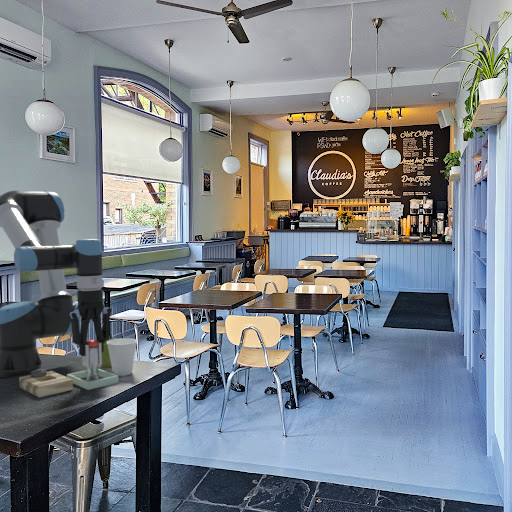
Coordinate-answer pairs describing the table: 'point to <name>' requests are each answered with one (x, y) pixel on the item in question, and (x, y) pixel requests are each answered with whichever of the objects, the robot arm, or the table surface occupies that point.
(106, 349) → the plant pot
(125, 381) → the table surface
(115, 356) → the cup
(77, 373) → the tray
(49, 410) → the table surface
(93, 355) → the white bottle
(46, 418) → the table surface
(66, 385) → the wooden block with hole
